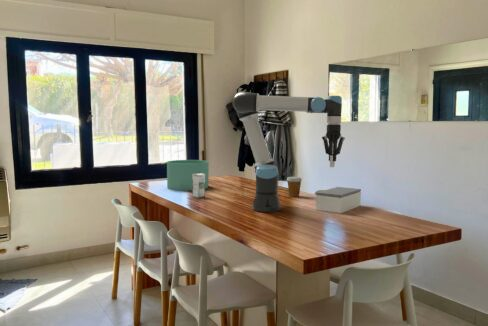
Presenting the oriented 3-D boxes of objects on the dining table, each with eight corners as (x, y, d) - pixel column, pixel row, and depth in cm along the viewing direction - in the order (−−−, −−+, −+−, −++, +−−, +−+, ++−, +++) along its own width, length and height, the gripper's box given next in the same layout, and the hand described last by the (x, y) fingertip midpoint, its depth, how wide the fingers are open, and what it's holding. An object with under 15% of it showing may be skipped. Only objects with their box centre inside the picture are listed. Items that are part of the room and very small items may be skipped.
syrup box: (198, 195, 261) (198, 172, 259) (205, 196, 257) (205, 173, 256) (192, 196, 256) (192, 173, 255) (198, 197, 253) (198, 174, 251)
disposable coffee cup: (301, 197, 255) (301, 178, 254) (285, 197, 257) (286, 178, 256) (301, 195, 264) (302, 176, 263) (287, 194, 266) (287, 176, 265)
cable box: (340, 213, 210) (340, 197, 210) (316, 209, 219) (316, 194, 218) (360, 205, 231) (360, 191, 230) (337, 202, 239) (337, 189, 239)
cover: (340, 197, 210) (340, 195, 210) (316, 194, 218) (316, 192, 218) (360, 191, 230) (360, 189, 230) (337, 188, 239) (337, 186, 239)
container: (164, 185, 306) (164, 160, 304) (203, 183, 315) (203, 159, 313) (170, 191, 278) (169, 163, 276) (212, 189, 287) (212, 163, 285)
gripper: (347, 124, 224) (346, 167, 226) (326, 124, 232) (324, 165, 234) (341, 124, 218) (339, 168, 220) (319, 123, 226) (318, 166, 228)
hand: (332, 167), depth 227 cm, fingers closed
